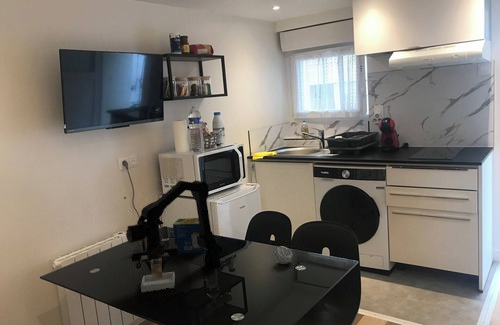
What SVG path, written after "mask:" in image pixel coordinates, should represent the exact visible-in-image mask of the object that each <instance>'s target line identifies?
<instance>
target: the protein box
mask: <svg viewBox="0 0 500 325" xmlns="http://www.w3.org/2000/svg"><path fill="white" fill-rule="evenodd" d="M172 232H173V237H174V238H173V240H174V245H177V246H178V255H179V254H182V255H183V254H205V251H203V250H202V248H200V247H199V245H198V244H197V237H196V236H199V234H200V226H199V219H198V217H190V218H178V219H177V220H176V221H175V222H174V223H173V224H172Z"/></svg>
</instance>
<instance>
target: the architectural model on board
mask: <svg viewBox="0 0 500 325" xmlns="http://www.w3.org/2000/svg"><path fill="white" fill-rule="evenodd" d="M137 248H138V250H142V252H146V251H147V250H146V248H147V241H146V238H145V239H144V240H140V241H137Z"/></svg>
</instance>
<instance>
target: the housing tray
mask: <svg viewBox="0 0 500 325" xmlns="http://www.w3.org/2000/svg"><path fill="white" fill-rule="evenodd" d="M175 279H176V275H175V271H171V272H163V276H162V278H155V279H152V274H148V275H143V276H142V280H141V284H140V290H141V292H140V293H146V292H147V291H148V292H153V291H154V290H155V291H161V289H162V290H167V289H166V288H169V289H175V285H176V284H175V282H176V280H175ZM148 292H147V293H148Z"/></svg>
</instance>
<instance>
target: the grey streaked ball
mask: <svg viewBox="0 0 500 325" xmlns="http://www.w3.org/2000/svg"><path fill="white" fill-rule="evenodd" d="M293 255H294V254H293V252H292V250H291V249H290V248H288V247H286V246H282V245H280V246H279V247H277V248H276V249H275V252H274V257H275V259H276V261H277V262H278V264H282V265H287V264H290V263H291V261H292V260H293Z"/></svg>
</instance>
